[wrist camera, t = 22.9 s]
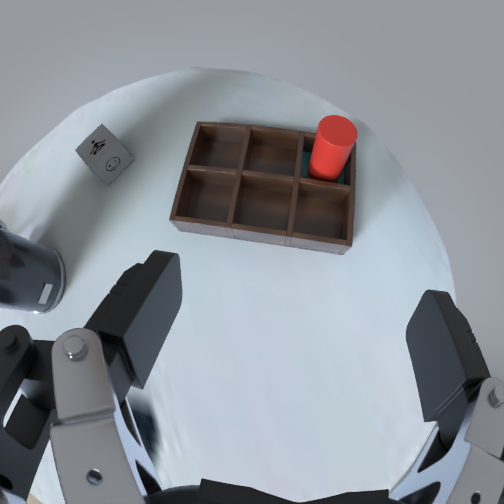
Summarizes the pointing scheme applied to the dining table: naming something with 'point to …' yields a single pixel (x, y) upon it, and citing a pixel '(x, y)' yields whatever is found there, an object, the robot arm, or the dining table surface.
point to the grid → (263, 189)
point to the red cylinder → (331, 148)
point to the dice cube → (104, 154)
